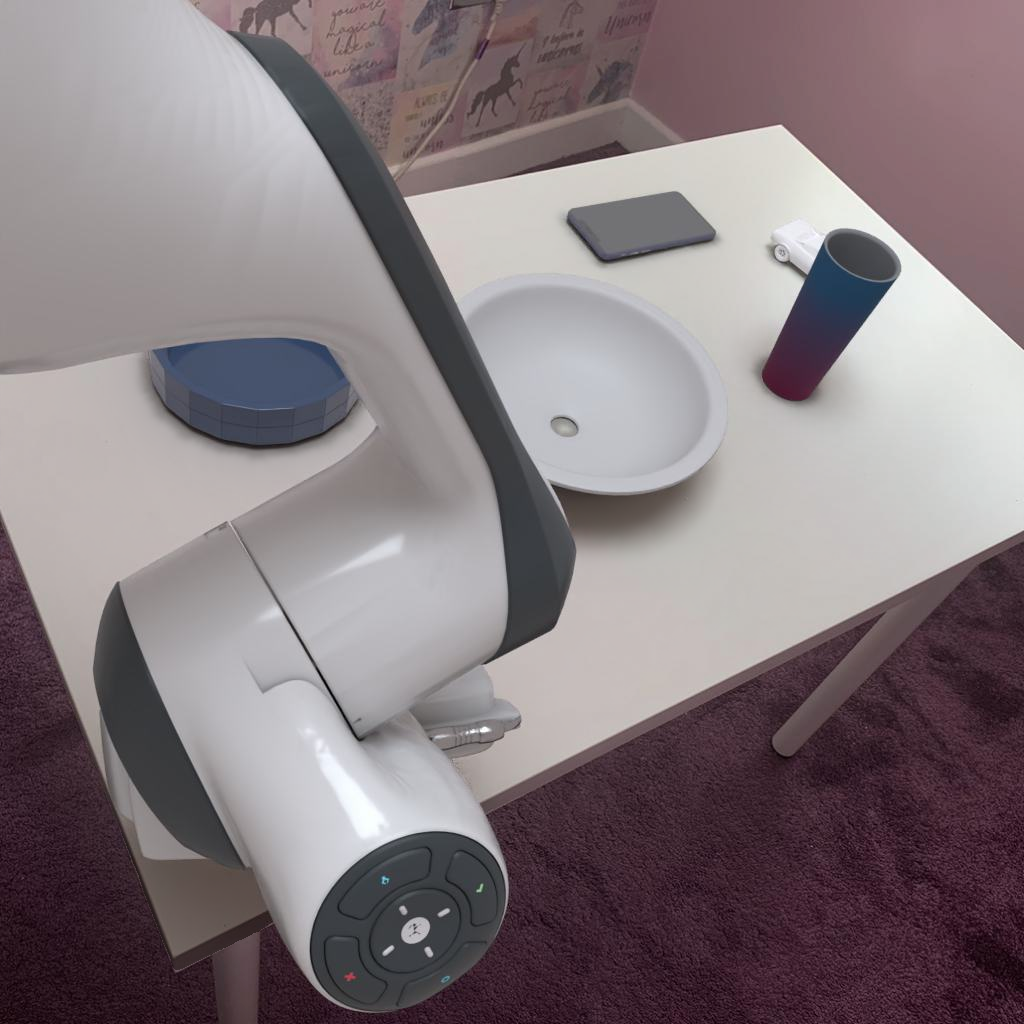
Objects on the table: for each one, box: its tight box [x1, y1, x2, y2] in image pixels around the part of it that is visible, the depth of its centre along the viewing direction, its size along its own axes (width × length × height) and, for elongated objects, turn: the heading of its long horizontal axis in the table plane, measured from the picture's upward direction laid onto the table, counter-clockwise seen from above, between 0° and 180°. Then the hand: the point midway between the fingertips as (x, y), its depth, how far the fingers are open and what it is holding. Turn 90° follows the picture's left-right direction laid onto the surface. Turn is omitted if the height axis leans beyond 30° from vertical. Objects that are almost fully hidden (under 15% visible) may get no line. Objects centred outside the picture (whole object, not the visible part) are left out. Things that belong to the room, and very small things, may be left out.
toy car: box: [770, 218, 827, 276], centre depth 110 cm, size 6×12×3 cm, turn 42°
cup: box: [761, 227, 902, 401], centre depth 93 cm, size 7×7×15 cm
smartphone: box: [566, 190, 717, 261], centre depth 108 cm, size 8×1×15 cm
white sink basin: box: [456, 272, 729, 496], centre depth 86 cm, size 24×24×7 cm
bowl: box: [148, 338, 359, 446], centre depth 83 cm, size 16×16×4 cm
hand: (285, 680), depth 63 cm, fingers open, 8 cm apart
